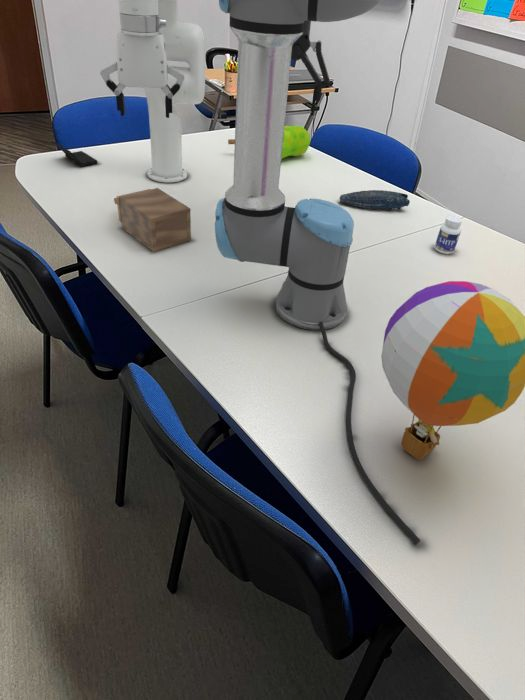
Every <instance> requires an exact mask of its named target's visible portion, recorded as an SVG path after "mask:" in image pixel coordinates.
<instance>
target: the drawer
mask: <svg viewBox="0 0 525 700" xmlns="http://www.w3.org/2000/svg"><path fill="white" fill-rule="evenodd" d="M151 189H152V188H148V189H143V190H139V191H134V192H130V193H125V194H121V195H117V196H116V197H114V198H113V202H114V205H117V214H118V221H119V222H120V223H122V218H121V209H120V199H119V196H124V195H128V194H133V193H137V192H142V191H146V190H151Z"/></svg>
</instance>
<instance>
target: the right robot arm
mask: <svg viewBox="0 0 525 700" xmlns="http://www.w3.org/2000/svg"><path fill="white" fill-rule="evenodd" d="M380 2H381V0H218V6H219V10H220V11H221V12H223V13H224V14H229V29H230V31H231V32H232V33H233V34H234V36H235V37H236V38H237V41H238V46H237V47H238V49H237V74H236V75H237V76H236V104H235V125H234V128H235V130H234V139H235V144H234V151H233V152H234V154H233V155H234V156H233V181H232V185H231V186H230V187H229V188H228V189H226V190H225V191H224V197H222V198H220V199H218V201H217V204H216V208H215V215H214V217H215V221H214V233H215V234H214V235H215V242H216V247H217V250H218V252H219V253H220V254H221V255H222V256H223V257H224V258H226V259H228V260H229V259H230V260H235V261H238V262H240V263H242V262H243V263H244V262H246V263H254V264H262V265H270V266H278V267H285V268H288V270H287V271H288V272H287V275H286V278H285V279H284V281H283V283H282V285H281V287H280V290H279V291H278V294H277V296H276V300H275V311H276V313H277V315H278V316H279V317H280V318H281V319H282V320H283V321H284V322H286V323H287V324H289V325H291V326H293V327H296V328H300V329H304V330H310V331H320V332H321V333H320V334H321V337H322V341H323V344H324V346H325V348H326V349H327V351H328V352H330V354H331V355H333V356H334V357H336V358H337V359H339V360H340V361H342V363H344V365H346V366H347V368H348V369H349V372H350V382H349V386H348V390H347V401H346V403H347V404H346V410H345V428H346V429H345V431H346V439H347V445H348V449H349V452H350V455H351V459H352V461H353V463H354V465H355V468H356V469H357V472H358V473H359V475H360V477H361V479H362V480H363V482H364V484H365V485H366V487H367V488H368V489H369V491H370V492H371V494H372V495H373V496H374V498H375V499H376V500H377V501H378V503H379V504H380V505H381V507H382V508H383V509H384V510H385V512H386V513H387V514H388V515H389V516H390V517H391V519H392V520H393V521H394V522H395V524H397V526H398V527H399V528H400V529H401V530H402V531H403V532H404V533H405V534H406V535H407V536H408V537H409V539H411V541H412V542H413V543H414V544H415V545H418V544H419V543H420V542H421V539H420V538H419V536H417V534H415V533H414V531H413V530H412V529H411V528H410V527H409V525H407V524H406V523H405V522H404V520H402V518H401V517H400V516H399V515H398V514H397V513H396V512H395V511H394V510H393V508H392V507H391V506H390V505H389V503H388V502H387V501H386V500H385V499H384V497H383V496H382V494H381V493H380V492H379V490H378V489H377V488H376V486H375V485H374V483H373V482H372V481H371V479H370V478H369V476H368V474H367V473H366V471H365V469H364V467H363V465H362V462H361V461H360V458H359V456H358V454H357V451H356V447H355V444H354V438H353V430H352V407H353V399H354V397H353V396H354V388H355V384H356V380H357V374H356V370H355V368H354V366H353V364H352V362H351V361H350V360H349V359H347V358H346V357H345V356H344V355H342V354H341V353H339V352H338V351H337V350H336V349H334V348H333V347H332V346H331V344H330V342H329V340H328V336H327V332H326V330H329V329H333V328H336V327H337V326H339V325H340V324H342V323H343V322H344V320H345V318H346V315H347V310H348V305H347V297H346V292H345V286H344V280H345V275H346V271H347V267H348V266H347V265H348V260H349V256H350V255H349V254H350V250H351V249H350V248H351V245H352V244H353V242H354V239H353V236H354V235H353V234H354V228H355V223H354V219H353V217H352V216H351V214H350V213H349V212H348V211H347V210H346V209H345V208H343V206H342V207H341V206H340V205H338V204H336V203H334V202H331V201H329V200H326V199H325V200H324V199H320V198H312V197H311V198H309V199H308V198H304V199H301V200H299V201H298V202H297V203H296V205H295V206H294V207H293V206H286V195H285V194H284V193H283V191H282V190H281V189H280V188H279V187H280V176H281V166H282V159H281V157H282V146H283V136H284V126H286V124H285V123H286V113H287V112H286V111H287V104H288V103H287V102H288V94H289V93H288V92H289V83H290V81H289V80H290V71H291V61H296V62H298V61H302V63H303V65H304V67H305V68H306V69H307V71H308V73H309V75H310V77H311V78H312V80H313V81H314V83H315V85H314V87H313V93H312V102H311V109H310V116H313V117H314V116H315V110H316V109H315V108H316V102H320V101H321V99H322V91H323V88H324V87H329V86H330V83H331V79H330V75H329V72H328V69H327V66H326V62H325V58H324V55H323V52H322V40H320V39H319V40H317V41H311V40H310V33H311V26H312V25H311V24H312V22H320V23H334V22H340V21H341V22H342V21H345V20H349V19H353V18H355V17H359V16H361V15H364V14H366V13H367V12H370V11H371V10H372V9H374V8H375V7H376V6H377V5H378V4H379V3H380ZM310 48H312V51H313V52H314V53H315V55H316V56H315V57H316V59H317V62H318V66H319V70H320V72H321V76H322V79H321V77H320V76H319V74H318V72H317V70H316V68H315V67H314V65H313V63H312V62H311V60H310V58H309V56H308V54H307V52H308V50H309V49H310Z"/></svg>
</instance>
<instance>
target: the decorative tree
mask: <svg viewBox="0 0 525 700" xmlns="http://www.w3.org/2000/svg"><path fill="white" fill-rule="evenodd" d="M227 144H228V145H235V138H234V139H233V138H230V139H227ZM310 145H311V136H310V133H309V132H308V131H307V130H306V129H305V128H304V127H303V126H302V125H284V136H283V146H282V157H281V160H283V159H285V158H287V157H300V156H302V155H305V154H306V153H307V151H308V148H309V147H310Z"/></svg>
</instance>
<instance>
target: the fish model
mask: <svg viewBox="0 0 525 700" xmlns="http://www.w3.org/2000/svg"><path fill="white" fill-rule="evenodd" d="M410 202H411V201H410V200H409V195H408V194H406V193H403V192H402V193H401V192H399V191H392V190H382V189H380V190H379V189H377V190H376V189H368V190H360V191H352V192H348V193H344V194H341V195H340V196H339V203H343V204H346V205H349V206H351V207H357V208H362V209H371V210H372V209H374V210H384V211H385V210H386V211H391V210H394V209H397V210H402V208H404V207H408V206H409V205H410Z"/></svg>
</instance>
